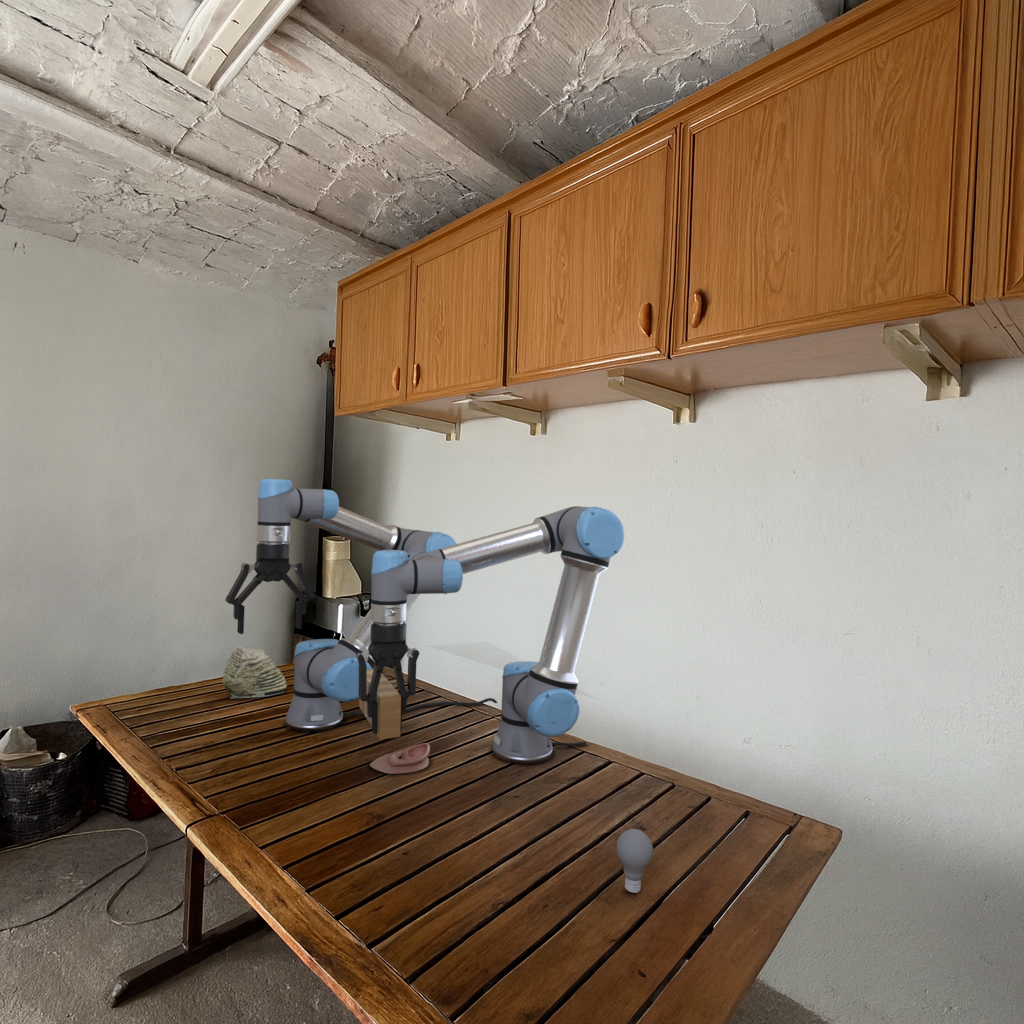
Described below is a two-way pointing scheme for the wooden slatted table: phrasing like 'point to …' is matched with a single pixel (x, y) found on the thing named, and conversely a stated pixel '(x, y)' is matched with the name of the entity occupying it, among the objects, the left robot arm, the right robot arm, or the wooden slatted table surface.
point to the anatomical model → (404, 760)
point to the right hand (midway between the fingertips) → (386, 729)
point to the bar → (385, 708)
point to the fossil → (252, 674)
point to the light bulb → (634, 857)
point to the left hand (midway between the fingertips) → (270, 630)
